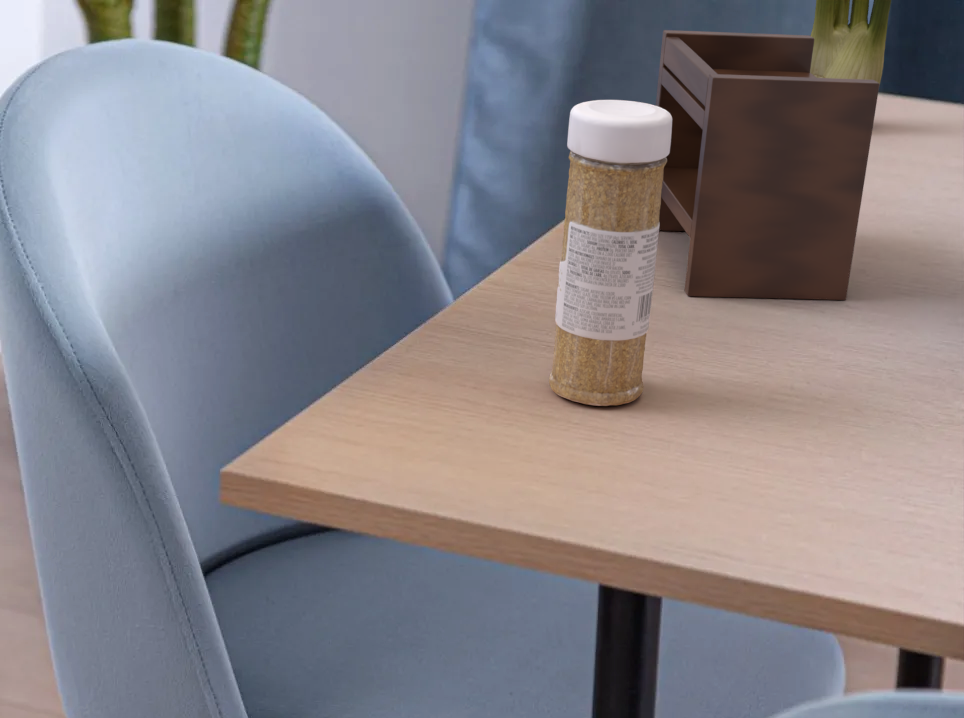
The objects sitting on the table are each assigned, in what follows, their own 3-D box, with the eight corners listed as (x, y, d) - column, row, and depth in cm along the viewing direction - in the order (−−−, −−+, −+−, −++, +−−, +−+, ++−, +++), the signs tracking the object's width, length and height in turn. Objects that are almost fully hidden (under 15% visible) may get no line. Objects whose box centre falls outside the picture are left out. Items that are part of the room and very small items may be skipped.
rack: (783, 229, 111) (810, 35, 106) (846, 300, 99) (880, 83, 93) (642, 225, 110) (663, 29, 105) (687, 296, 98) (712, 77, 93)
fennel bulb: (877, 127, 140) (902, -31, 134) (857, 137, 136) (882, -24, 131) (807, 115, 142) (829, -39, 137) (786, 126, 138) (807, -33, 133)
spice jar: (578, 368, 86) (603, 92, 81) (660, 391, 84) (692, 108, 78) (529, 393, 83) (551, 107, 77) (613, 418, 81) (642, 124, 75)
